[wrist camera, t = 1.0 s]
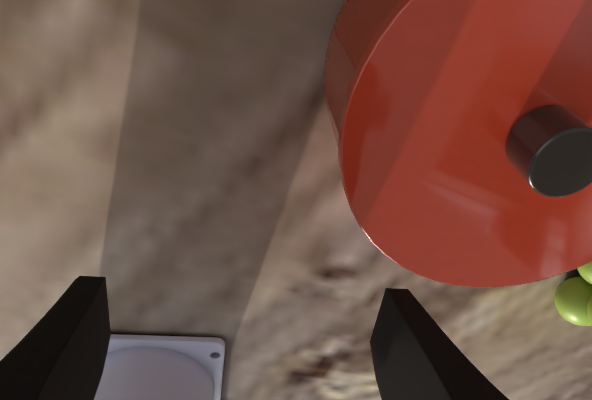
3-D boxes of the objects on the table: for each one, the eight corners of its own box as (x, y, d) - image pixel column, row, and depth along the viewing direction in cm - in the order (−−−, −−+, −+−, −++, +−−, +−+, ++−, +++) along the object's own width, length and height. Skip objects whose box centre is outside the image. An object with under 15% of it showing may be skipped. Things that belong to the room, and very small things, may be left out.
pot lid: (605, 274, 20) (651, 327, 18) (307, 258, 18) (316, 314, 16) (811, -61, 14) (924, -46, 11) (383, -134, 12) (416, -134, 10)
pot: (541, 200, 24) (611, 279, 19) (304, 182, 22) (319, 263, 18) (669, -69, 18) (815, -47, 13) (356, -122, 16) (399, -116, 12)
